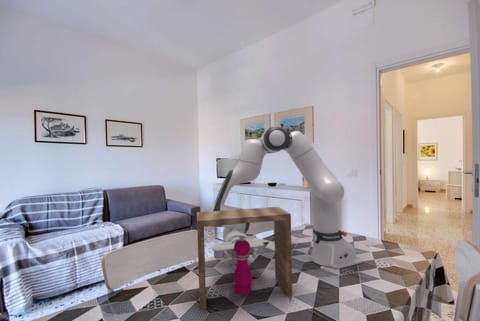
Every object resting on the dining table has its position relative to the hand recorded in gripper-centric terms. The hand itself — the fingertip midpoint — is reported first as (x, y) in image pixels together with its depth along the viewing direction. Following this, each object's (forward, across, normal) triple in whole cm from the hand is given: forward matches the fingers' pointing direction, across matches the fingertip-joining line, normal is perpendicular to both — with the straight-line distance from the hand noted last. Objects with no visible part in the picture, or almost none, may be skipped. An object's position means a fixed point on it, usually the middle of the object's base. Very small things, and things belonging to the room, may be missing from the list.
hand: (242, 257), depth 88 cm
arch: (+1, 0, +12) cm, 13 cm away
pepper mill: (-1, 0, +13) cm, 13 cm away
